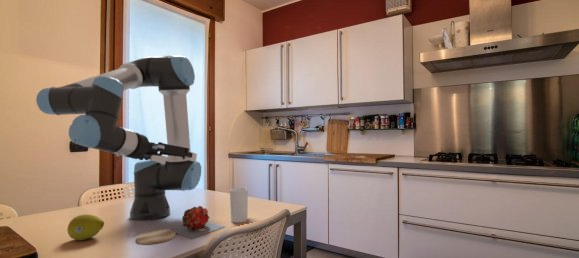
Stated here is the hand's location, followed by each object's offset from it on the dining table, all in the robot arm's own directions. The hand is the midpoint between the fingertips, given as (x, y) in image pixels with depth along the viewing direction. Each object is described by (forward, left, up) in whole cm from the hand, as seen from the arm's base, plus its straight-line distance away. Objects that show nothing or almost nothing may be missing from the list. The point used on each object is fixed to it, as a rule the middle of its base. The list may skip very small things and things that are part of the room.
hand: (180, 159), depth 106 cm
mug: (+9, +21, -25) cm, 34 cm away
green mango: (-18, -23, -25) cm, 39 cm away
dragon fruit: (+4, +4, -25) cm, 26 cm away
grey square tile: (+4, +4, -25) cm, 26 cm away
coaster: (0, -9, -25) cm, 27 cm away
